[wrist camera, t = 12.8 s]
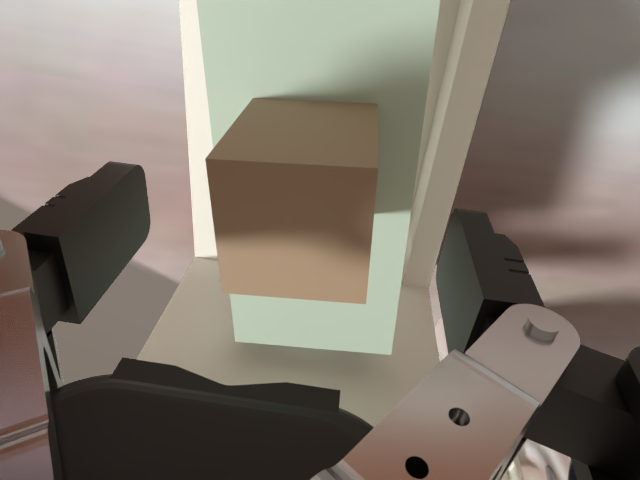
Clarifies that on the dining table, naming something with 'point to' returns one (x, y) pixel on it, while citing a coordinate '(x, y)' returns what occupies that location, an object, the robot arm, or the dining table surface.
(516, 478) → the beer glass
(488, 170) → the dining table surface
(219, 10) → the shelf board
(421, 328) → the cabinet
